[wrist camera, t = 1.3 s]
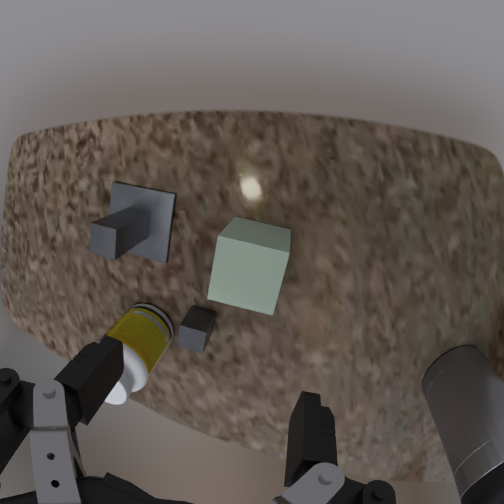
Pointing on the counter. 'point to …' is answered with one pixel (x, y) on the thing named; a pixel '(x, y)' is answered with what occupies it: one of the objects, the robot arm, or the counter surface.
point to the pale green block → (249, 265)
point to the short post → (196, 329)
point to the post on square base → (135, 224)
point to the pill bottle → (139, 347)
